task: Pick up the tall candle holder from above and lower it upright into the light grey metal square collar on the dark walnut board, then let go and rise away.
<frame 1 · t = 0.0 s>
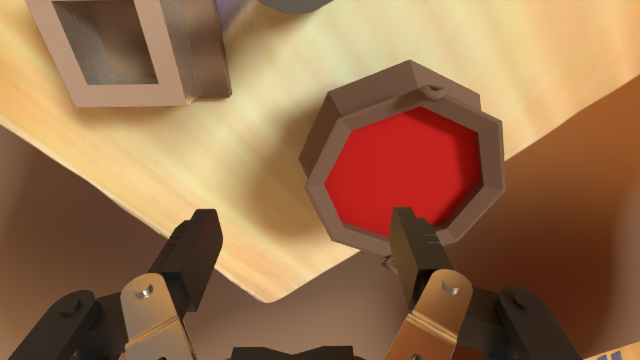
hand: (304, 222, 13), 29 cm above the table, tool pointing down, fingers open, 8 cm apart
square collar: (122, 42, 32), on the socket board, point 4 cm above the table
socket board: (141, 38, 36), on the table
brown cauldron: (381, 137, 43), on the table
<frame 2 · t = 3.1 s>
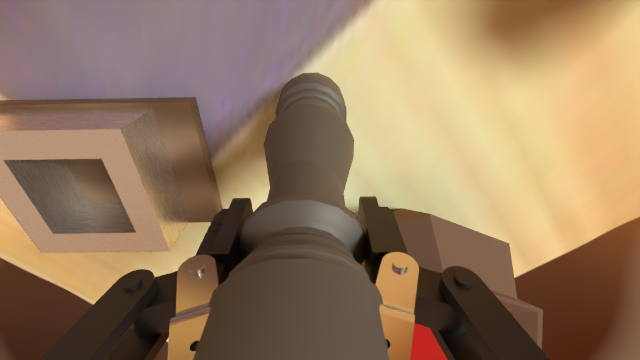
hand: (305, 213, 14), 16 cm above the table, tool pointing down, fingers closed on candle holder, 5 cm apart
square collar: (93, 184, 28), on the socket board, point 4 cm above the table
socket board: (118, 163, 31), on the table
brown cauldron: (391, 250, 38), on the table
candle holder: (311, 105, 28), on the table, touching gripper
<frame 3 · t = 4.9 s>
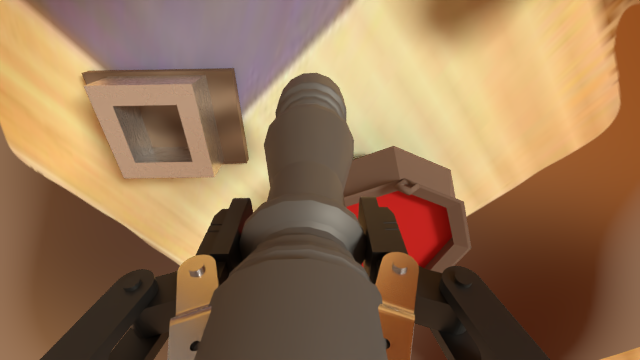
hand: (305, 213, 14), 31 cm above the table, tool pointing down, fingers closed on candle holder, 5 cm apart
square collar: (163, 128, 40), on the socket board, point 4 cm above the table
socket board: (175, 118, 43), on the table
brown cauldron: (374, 190, 51), on the table
candle holder: (311, 105, 28), point 14 cm above the table, touching gripper
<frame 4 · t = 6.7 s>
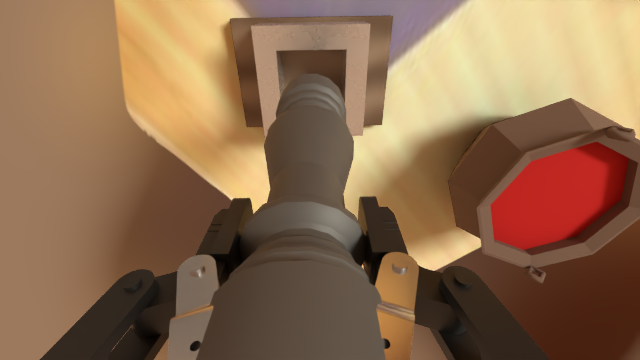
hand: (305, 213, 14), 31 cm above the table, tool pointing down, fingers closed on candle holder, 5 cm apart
square collar: (312, 81, 37), on the socket board, point 4 cm above the table
socket board: (313, 74, 40), on the table
brown cauldron: (503, 157, 48), on the table
candle holder: (311, 106, 28), point 14 cm above the table, touching gripper
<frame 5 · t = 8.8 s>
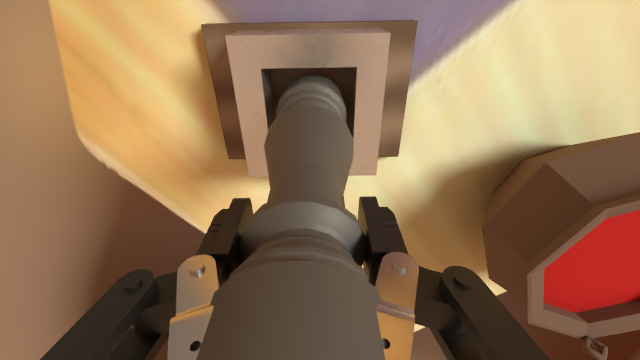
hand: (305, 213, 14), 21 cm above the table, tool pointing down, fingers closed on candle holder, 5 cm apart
square collar: (311, 105, 28), on the socket board, point 4 cm above the table
socket board: (311, 94, 32), on the table
brown cauldron: (544, 192, 39), on the table
candle holder: (311, 106, 28), point 4 cm above the table, touching gripper
when the fingers open (19 cm above the table, at t = 10.6 s): candle holder stays where it is, resting on socket board.
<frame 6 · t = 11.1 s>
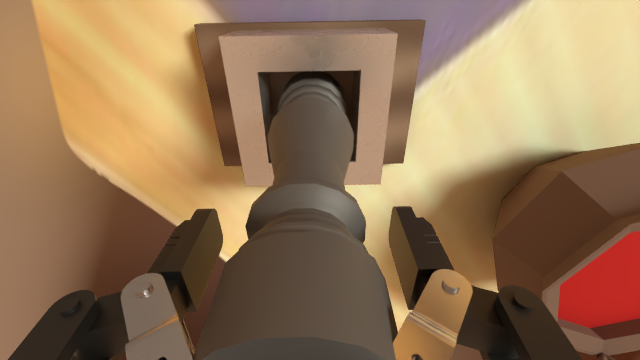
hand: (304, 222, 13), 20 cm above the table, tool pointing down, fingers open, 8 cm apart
square collar: (311, 111, 26), on the socket board, point 4 cm above the table
socket board: (312, 98, 30), on the table
brown cauldron: (555, 200, 37), on the table
candle holder: (313, 101, 29), point 1 cm above the table, touching socket board
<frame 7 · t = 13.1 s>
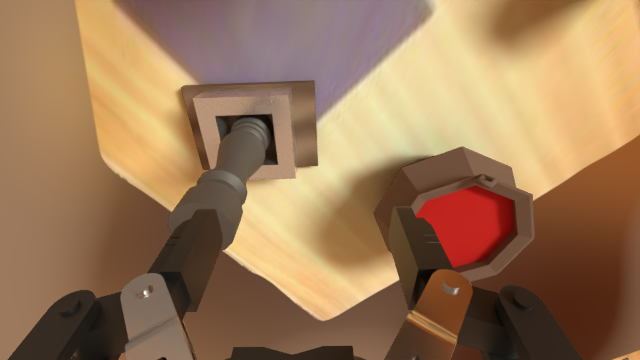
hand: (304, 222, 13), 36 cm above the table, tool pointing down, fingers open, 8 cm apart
square collar: (251, 135, 44), on the socket board, point 4 cm above the table
socket board: (256, 126, 48), on the table
brown cauldron: (429, 189, 55), on the table
candle holder: (255, 128, 47), point 1 cm above the table, touching socket board
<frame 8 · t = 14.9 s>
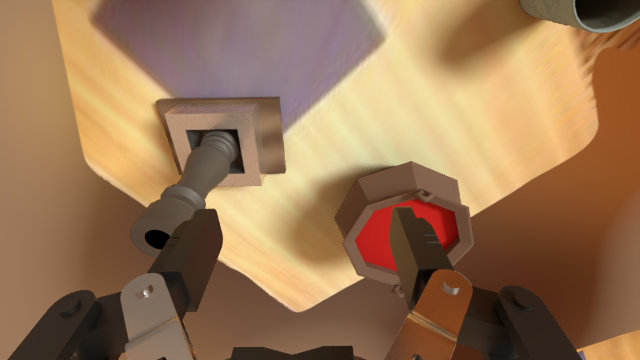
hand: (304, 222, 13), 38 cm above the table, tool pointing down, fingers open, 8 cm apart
square collar: (221, 146, 49), on the socket board, point 4 cm above the table
socket board: (227, 136, 52), on the table
brown cauldron: (390, 195, 59), on the table
candle holder: (225, 139, 51), point 1 cm above the table, touching socket board
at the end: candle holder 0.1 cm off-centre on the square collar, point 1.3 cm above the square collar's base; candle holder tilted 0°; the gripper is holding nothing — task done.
